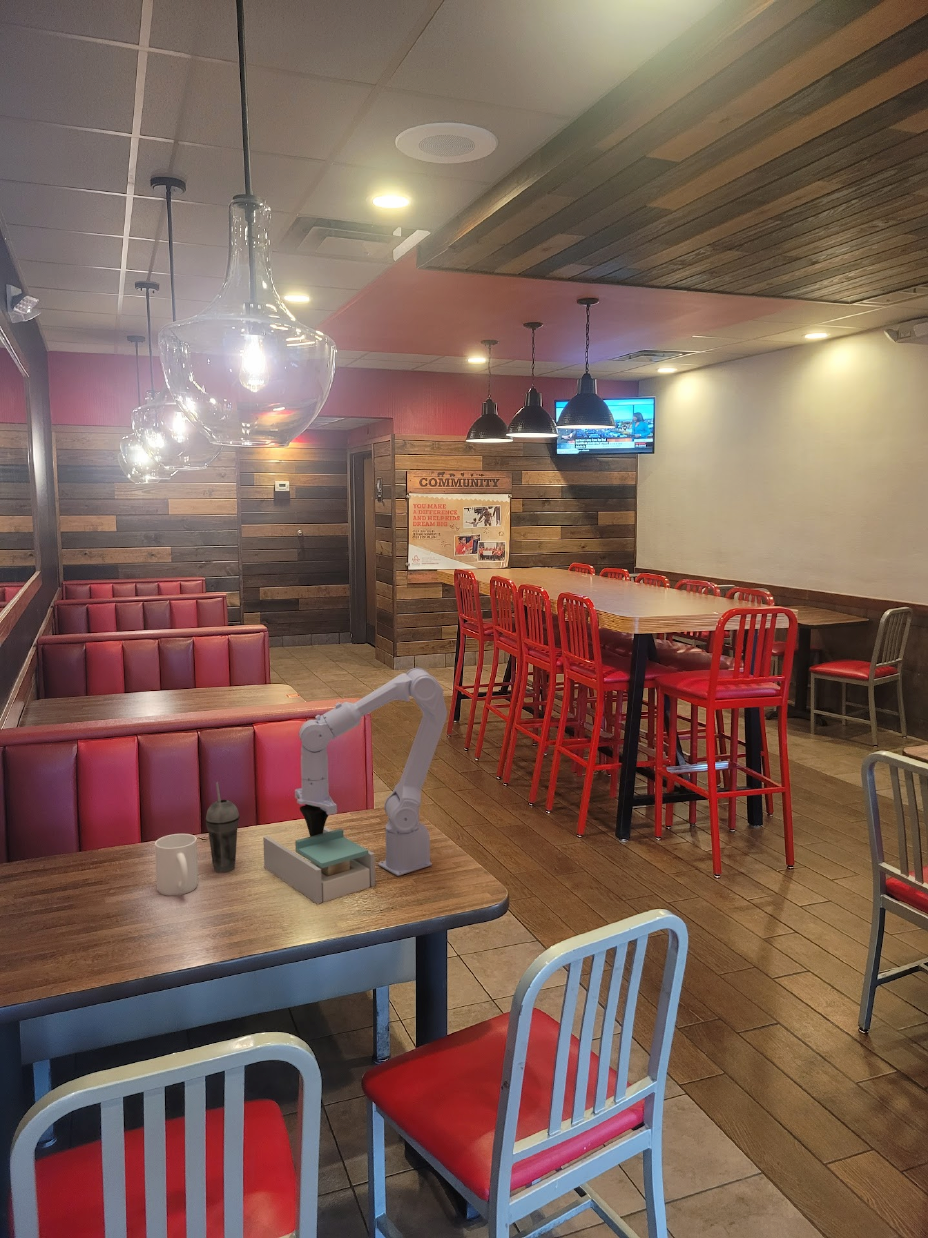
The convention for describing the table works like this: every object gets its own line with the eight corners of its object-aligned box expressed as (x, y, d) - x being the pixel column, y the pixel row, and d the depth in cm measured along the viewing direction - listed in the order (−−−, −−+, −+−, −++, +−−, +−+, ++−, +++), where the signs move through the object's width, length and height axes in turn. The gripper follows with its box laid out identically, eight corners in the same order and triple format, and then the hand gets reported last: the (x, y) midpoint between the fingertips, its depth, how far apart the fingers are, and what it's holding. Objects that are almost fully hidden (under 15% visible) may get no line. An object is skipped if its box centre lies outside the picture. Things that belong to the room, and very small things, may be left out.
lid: (340, 839, 189) (340, 828, 189) (368, 854, 180) (368, 843, 180) (295, 852, 182) (295, 840, 182) (322, 868, 173) (321, 856, 173)
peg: (338, 879, 185) (337, 852, 184) (350, 887, 181) (349, 860, 180) (317, 885, 182) (316, 858, 181) (328, 893, 178) (328, 865, 177)
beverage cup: (248, 866, 192) (245, 779, 189) (223, 878, 186) (219, 788, 183) (225, 860, 196) (222, 774, 193) (200, 871, 189) (196, 782, 187)
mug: (206, 898, 176) (204, 849, 175) (164, 907, 172) (162, 857, 171) (193, 877, 186) (191, 831, 185) (153, 885, 182) (151, 838, 181)
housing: (319, 852, 200) (318, 823, 199) (375, 885, 182) (374, 853, 181) (264, 867, 191) (263, 837, 190) (317, 904, 173) (316, 870, 172)
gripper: (281, 772, 187) (283, 833, 189) (315, 788, 176) (316, 852, 178) (310, 766, 192) (312, 825, 193) (345, 782, 181) (346, 844, 182)
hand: (316, 838), depth 186 cm, fingers closed
